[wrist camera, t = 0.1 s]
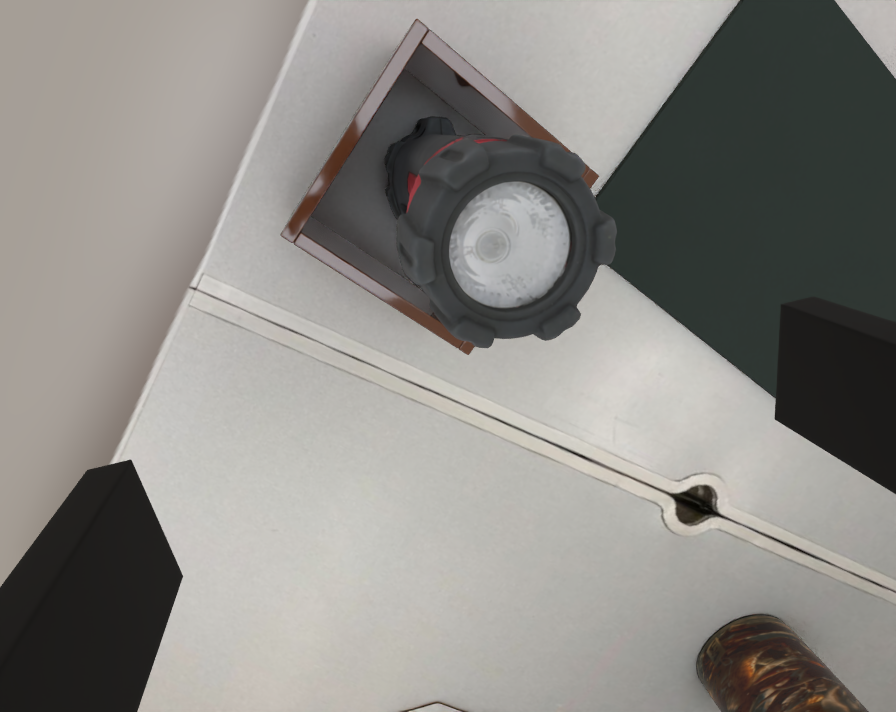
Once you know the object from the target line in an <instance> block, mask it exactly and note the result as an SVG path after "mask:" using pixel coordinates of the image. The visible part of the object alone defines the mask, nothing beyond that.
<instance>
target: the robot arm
mask: <svg viewBox="0 0 896 712" xmlns="http://www.w3.org/2000/svg"><path fill="white" fill-rule="evenodd" d="M775 420H777V421H778V422H780V423H782V424H783V425H785V426H786V427H788V428H790V429H791V430H793V431H795V432H796V433H798V434H799V435H801V436H803V437H804V438H806V439H807V440H809V441H811V442H812V443H814V444H816V445H817V446H819V447H820V448H822V449H824V450H825V451H827V452H828V453H830V454H832V455H833V456H835V457H837V458H838V459H840V460H841V461H843V462H845V463H846V464H848V465H849V466H851V467H853V468H854V469H856V470H858V471H859V472H861V473H862V474H864V475H866V476H867V477H869V478H870V479H872V480H874V481H875V482H877V483H879V484H880V485H882V486H883V487H885V488H887V489H888V490H890V491H892V492H893V493H895V494H896V322H894V321H891V320H887V319H884V318H881V317H878V316H875V315H871V314H868V313H865V312H862V311H859V310H856V309H852V308H849V307H846V306H843V305H840V304H837V303H833V302H830V301H827V300H824V299H821V298H817V297H814V296H813V297H809V298H805V299H800V300H796V301H792V302H788V303H784V304H781V312H780V330H779V349H778V368H777V386H776V405H775ZM182 578H183V575H182V573H181V570H180V568H179V566H178V564H177V562H176V559H175V557H174V555H173V553H172V550H171V548H170V546H169V544H168V541H167V539H166V537H165V535H164V532H163V530H162V528H161V526H160V523H159V521H158V519H157V517H156V514H155V512H154V510H153V508H152V505H151V503H150V501H149V499H148V496H147V494H146V492H145V490H144V487H143V485H142V483H141V481H140V478H139V476H138V474H137V472H136V469H135V467H134V465H133V463H132V460H127V461H123V462H119V463H115V464H111V465H107V466H102V467H98V468H94V469H90V470H87V471H86V472H85V474H84V475H83V477H82V478H81V479H80V481H79V482H78V483H77V485H76V486H75V488H74V489H73V490H72V492H71V493H70V494H69V496H68V497H67V498H66V500H65V501H64V502H63V504H62V505H61V506H60V508H59V509H58V510H57V512H56V513H55V514H54V516H53V517H52V518H51V520H50V521H49V522H48V524H47V525H46V526H45V528H44V529H43V530H42V532H41V533H40V534H39V536H38V537H37V539H36V540H35V541H34V543H33V544H32V545H31V547H30V548H29V549H28V551H27V552H26V553H25V555H24V556H23V557H22V559H21V560H20V561H19V563H18V564H17V565H16V567H15V568H14V570H13V571H12V572H11V574H10V575H9V576H8V578H7V579H6V580H5V582H4V583H3V584H2V586H1V587H0V712H137V711H138V708H139V705H140V702H141V699H142V696H143V693H144V690H145V687H146V684H147V681H148V678H149V675H150V672H151V669H152V666H153V663H154V660H155V657H156V654H157V652H158V649H159V646H160V643H161V640H162V637H163V634H164V631H165V628H166V625H167V622H168V619H169V616H170V613H171V610H172V607H173V604H174V601H175V598H176V595H177V592H178V590H179V587H180V584H181V581H182Z"/></svg>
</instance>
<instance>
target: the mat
mask: <svg viewBox="0 0 896 712" xmlns="http://www.w3.org/2000/svg"><path fill="white" fill-rule="evenodd" d="M595 199H596V202H597V204H598V207H599V210H601V211H603V212H604V213H606V214H608V215H609V216H611V217H612V218H613V219H614V221H615V224H616V229H617V234H616V238H615V247H616V251H615V256H614V258H613V261H612V263H611V264H609V265H608V266H610V267H611V268H612V269H613V270H615V271H616V272H617V273H618V274H620V275H621V276H622V277H623V278H625V279H626V280H627V281H629V282H630V283H631V284H632V285H634V286H635V287H636V288H637V289H639V290H640V291H641V292H642V293H644V294H645V295H646V296H647V297H649V298H650V299H651V300H652V301H654V302H655V303H656V304H657V305H659V306H660V307H661V308H663V309H664V310H665V311H666V312H668V313H669V314H670V315H671V316H673V317H674V318H675V319H676V320H678V321H679V322H680V323H681V324H683V325H684V326H685V327H686V328H688V329H689V330H690V331H692V332H693V333H694V334H695V335H697V336H698V337H699V338H700V339H702V340H703V341H704V342H705V343H707V344H708V345H709V346H710V347H712V348H713V349H714V350H715V351H717V352H718V353H719V354H720V355H722V356H723V357H724V358H726V359H727V360H728V361H729V362H731V363H732V364H733V365H734V366H736V367H737V368H738V369H739V370H741V371H742V372H743V373H744V374H746V375H747V376H748V377H749V378H751V379H752V380H753V381H755V382H756V383H757V384H758V385H760V386H761V387H762V388H763V389H765V390H766V391H767V392H768V393H770V394H771V395H772V396H773V397H775V398H776V386H777V368H778V349H779V330H780V312H781V304H784V303H788V302H792V301H796V300H800V299H805V298H809V297H813V296H814V297H817V298H821V299H824V300H827V301H830V302H833V303H837V304H840V305H843V306H846V307H849V308H852V309H856V310H859V311H862V312H865V313H868V314H871V315H875V316H878V317H881V318H884V319H887V320H891V321H894V322H896V79H895V78H894V76H893V75H892V74H891V72H890V71H889V70H888V69H887V67H886V66H885V65H884V63H883V62H882V61H881V60H880V58H879V57H878V56H877V54H876V53H875V52H874V51H873V49H872V48H871V47H870V45H869V44H868V43H867V42H866V40H865V39H864V38H863V36H862V35H861V34H860V33H859V31H858V30H857V29H856V28H855V26H854V25H853V24H852V22H851V21H850V20H849V19H848V17H847V16H846V15H845V13H844V12H843V11H842V10H841V8H840V7H839V6H838V4H837V3H836V2H835V1H834V0H740V2H739V3H738V5H737V6H736V7H735V9H734V10H733V11H732V13H731V14H730V15H729V17H728V18H727V19H726V21H725V22H724V24H723V25H722V26H721V28H720V29H719V30H718V32H717V33H716V34H715V36H714V37H713V39H712V40H711V41H710V43H709V44H708V45H707V47H706V48H705V49H704V51H703V52H702V53H701V55H700V56H699V58H698V59H697V60H696V62H695V63H694V64H693V66H692V67H691V68H690V70H689V71H688V73H687V74H686V75H685V77H684V78H683V79H682V81H681V82H680V83H679V85H678V86H677V87H676V89H675V90H674V92H673V93H672V94H671V96H670V97H669V98H668V100H667V101H666V102H665V104H664V105H663V107H662V108H661V109H660V111H659V112H658V113H657V115H656V116H655V117H654V119H653V120H652V121H651V123H650V124H649V126H648V127H647V128H646V130H645V131H644V132H643V134H642V135H641V136H640V138H639V139H638V141H637V142H636V143H635V145H634V146H633V147H632V149H631V150H630V151H629V153H628V154H627V155H626V157H625V158H624V160H623V161H622V162H621V164H620V165H619V166H618V168H617V169H616V170H615V172H614V173H613V175H612V176H611V177H610V179H609V180H608V181H607V183H606V184H605V185H604V187H603V188H602V189H601V191H600V192H599V194H598V195H597V196H596V198H595Z"/></svg>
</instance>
